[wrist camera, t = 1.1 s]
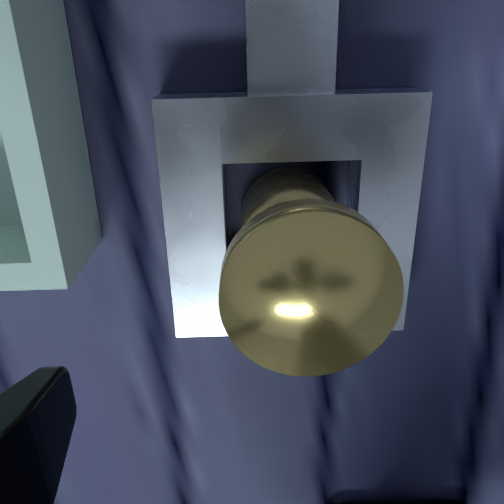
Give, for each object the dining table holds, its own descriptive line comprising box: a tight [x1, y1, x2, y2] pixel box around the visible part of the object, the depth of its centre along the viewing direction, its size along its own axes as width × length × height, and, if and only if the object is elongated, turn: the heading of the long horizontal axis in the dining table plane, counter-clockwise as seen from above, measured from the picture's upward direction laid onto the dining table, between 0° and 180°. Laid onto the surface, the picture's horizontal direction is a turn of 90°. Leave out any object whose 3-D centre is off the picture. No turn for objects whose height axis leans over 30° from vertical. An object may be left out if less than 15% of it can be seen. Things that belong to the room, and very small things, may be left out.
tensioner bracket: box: [151, 0, 433, 338], centre depth 13 cm, size 17×8×3 cm, turn 1°
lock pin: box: [218, 166, 404, 376], centre depth 13 cm, size 4×4×6 cm
